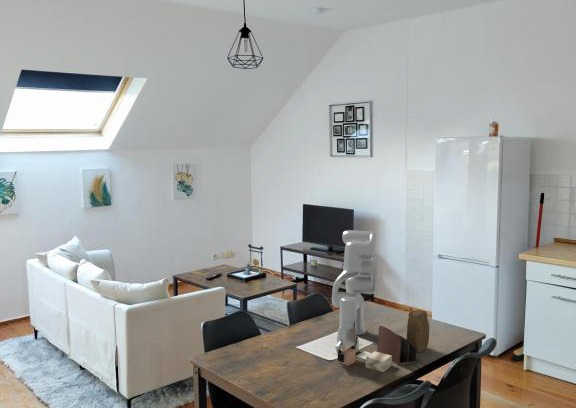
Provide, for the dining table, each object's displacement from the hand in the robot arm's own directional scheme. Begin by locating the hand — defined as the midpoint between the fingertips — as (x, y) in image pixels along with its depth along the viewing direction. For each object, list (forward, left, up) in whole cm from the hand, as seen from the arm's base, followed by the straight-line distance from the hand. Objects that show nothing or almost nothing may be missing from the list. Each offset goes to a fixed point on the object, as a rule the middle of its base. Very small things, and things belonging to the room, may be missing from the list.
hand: (346, 358), depth 255 cm
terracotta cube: (0, 0, -2) cm, 2 cm away
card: (+4, +12, -2) cm, 13 cm away
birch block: (+14, +6, -2) cm, 15 cm away
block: (+18, +37, -2) cm, 41 cm away
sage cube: (-6, +12, -2) cm, 14 cm away
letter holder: (+14, +22, -2) cm, 26 cm away
